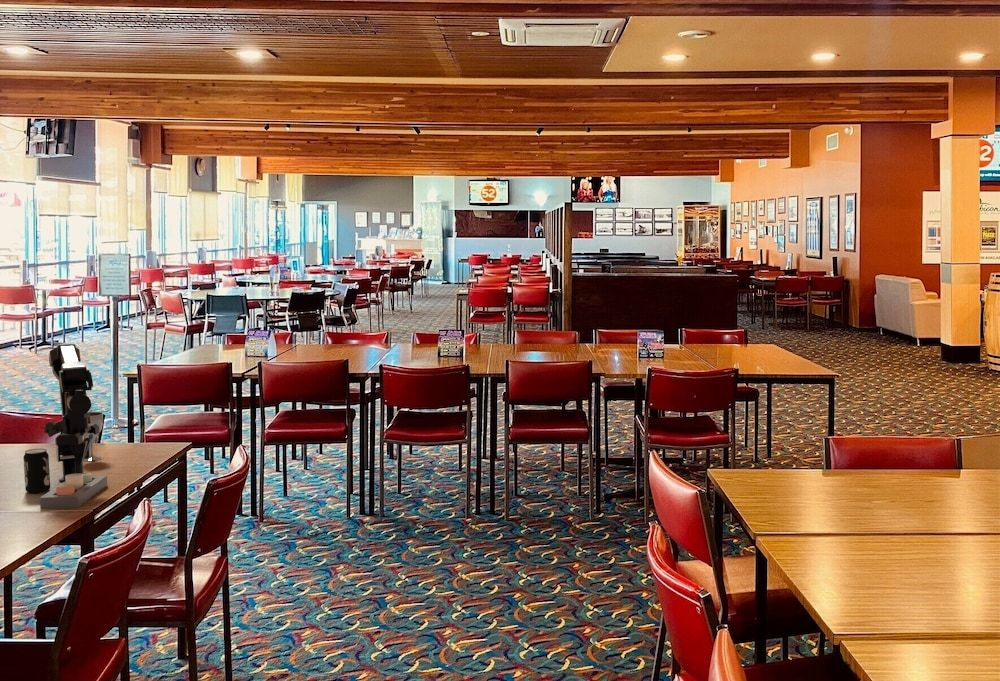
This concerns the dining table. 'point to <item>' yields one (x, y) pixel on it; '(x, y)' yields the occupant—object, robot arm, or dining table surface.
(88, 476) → the pale green egg
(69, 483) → the beige domed piece
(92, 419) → the wine glass
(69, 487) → the orange rounded dome
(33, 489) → the beverage can
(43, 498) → the egg tray
